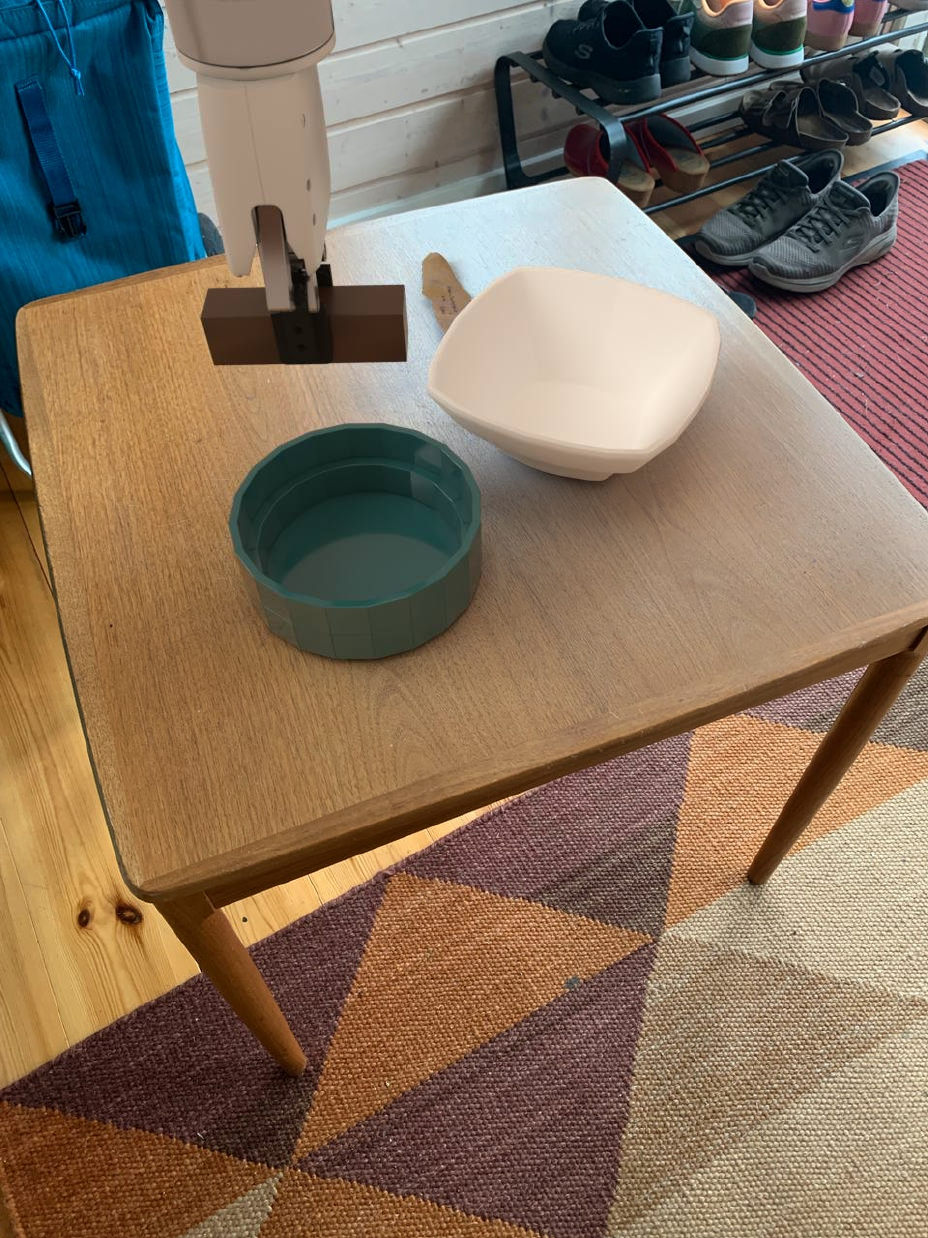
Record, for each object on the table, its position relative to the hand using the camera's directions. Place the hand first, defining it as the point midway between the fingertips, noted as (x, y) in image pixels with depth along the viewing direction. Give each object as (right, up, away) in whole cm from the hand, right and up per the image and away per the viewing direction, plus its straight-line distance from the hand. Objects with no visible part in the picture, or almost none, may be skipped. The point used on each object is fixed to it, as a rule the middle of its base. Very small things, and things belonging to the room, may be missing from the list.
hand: (309, 339), depth 57 cm
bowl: (+18, -2, +19) cm, 27 cm away
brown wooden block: (0, 0, +1) cm, 1 cm away
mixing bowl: (+2, -14, +11) cm, 18 cm away
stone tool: (+8, +12, +30) cm, 34 cm away
